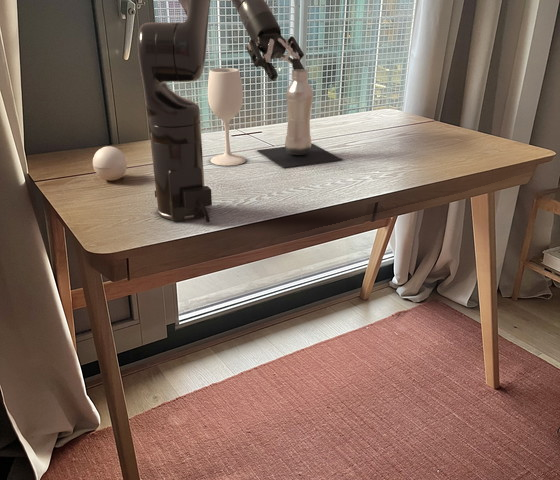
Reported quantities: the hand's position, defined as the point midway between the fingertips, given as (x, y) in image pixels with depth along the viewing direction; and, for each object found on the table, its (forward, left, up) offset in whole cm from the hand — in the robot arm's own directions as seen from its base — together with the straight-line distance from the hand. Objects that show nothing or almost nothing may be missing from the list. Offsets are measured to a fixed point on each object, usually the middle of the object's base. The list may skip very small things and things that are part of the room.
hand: (288, 76), depth 138 cm
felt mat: (-4, -1, -18) cm, 19 cm away
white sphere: (-4, +47, -18) cm, 51 cm away
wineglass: (-1, +17, -18) cm, 25 cm away
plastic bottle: (-4, -1, -18) cm, 19 cm away
